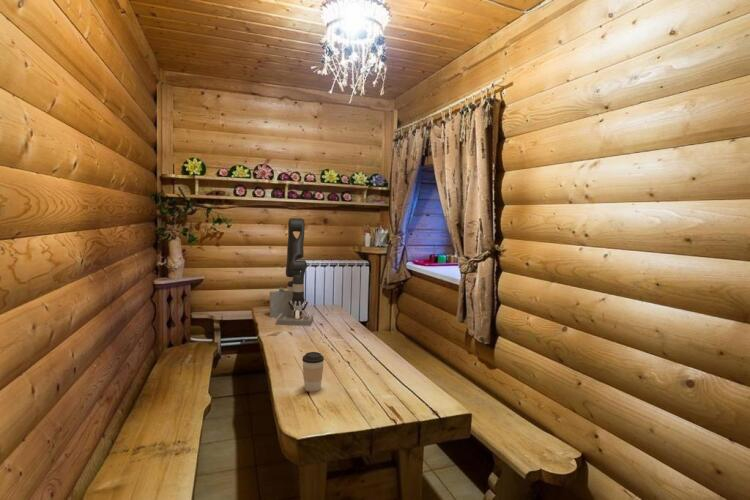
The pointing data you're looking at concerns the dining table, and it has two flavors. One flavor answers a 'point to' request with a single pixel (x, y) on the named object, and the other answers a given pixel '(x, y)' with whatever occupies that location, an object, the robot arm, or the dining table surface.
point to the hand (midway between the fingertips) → (297, 316)
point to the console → (294, 320)
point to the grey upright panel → (280, 303)
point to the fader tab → (297, 314)
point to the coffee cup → (312, 371)
